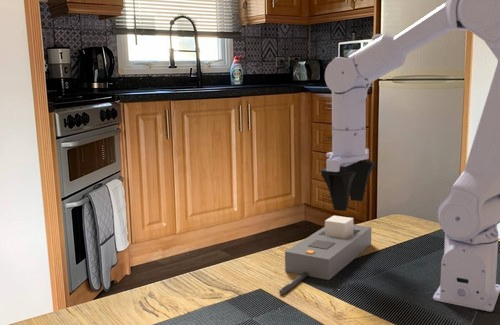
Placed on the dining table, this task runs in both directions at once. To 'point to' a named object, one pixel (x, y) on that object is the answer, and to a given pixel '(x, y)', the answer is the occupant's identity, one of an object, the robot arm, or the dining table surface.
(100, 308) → the dining table surface
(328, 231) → the plug
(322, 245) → the power strip
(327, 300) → the dining table surface
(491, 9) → the robot arm
